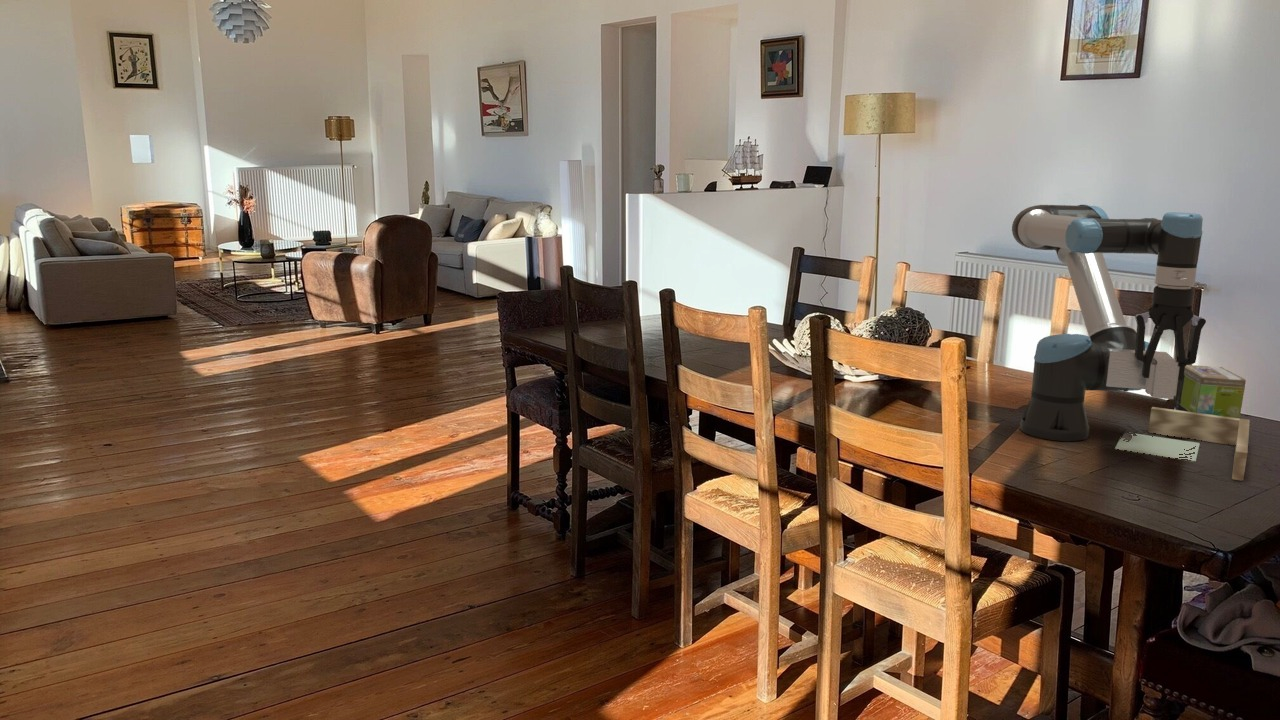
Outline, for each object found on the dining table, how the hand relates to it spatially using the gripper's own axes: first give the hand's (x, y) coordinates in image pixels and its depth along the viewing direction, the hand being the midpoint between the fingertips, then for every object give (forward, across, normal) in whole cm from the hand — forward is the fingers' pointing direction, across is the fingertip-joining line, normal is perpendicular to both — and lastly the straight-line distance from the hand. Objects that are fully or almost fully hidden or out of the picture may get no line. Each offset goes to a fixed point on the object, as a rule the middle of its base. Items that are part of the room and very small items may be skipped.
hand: (1160, 393), depth 210 cm
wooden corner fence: (+15, +9, +7) cm, 19 cm away
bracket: (0, -4, +3) cm, 5 cm away
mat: (+15, +3, +10) cm, 18 cm away
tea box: (+15, +16, +30) cm, 37 cm away
